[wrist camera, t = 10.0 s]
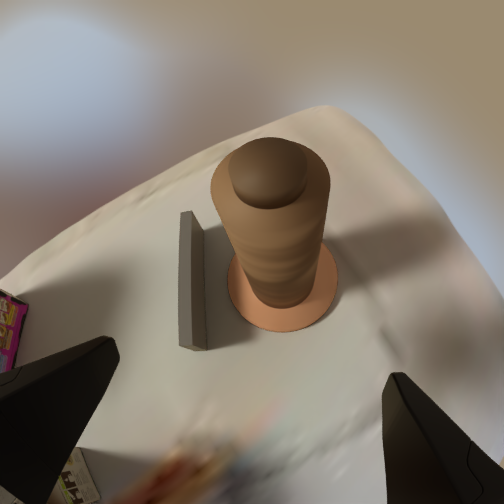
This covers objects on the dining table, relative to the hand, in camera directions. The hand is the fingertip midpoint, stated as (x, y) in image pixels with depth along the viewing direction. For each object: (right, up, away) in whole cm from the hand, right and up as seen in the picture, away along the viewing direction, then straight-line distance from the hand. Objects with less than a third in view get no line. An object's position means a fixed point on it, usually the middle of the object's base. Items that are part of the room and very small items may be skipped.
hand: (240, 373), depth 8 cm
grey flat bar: (-4, +1, +16) cm, 17 cm away
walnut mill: (+3, +2, +15) cm, 15 cm away
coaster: (+3, +1, +15) cm, 16 cm away
